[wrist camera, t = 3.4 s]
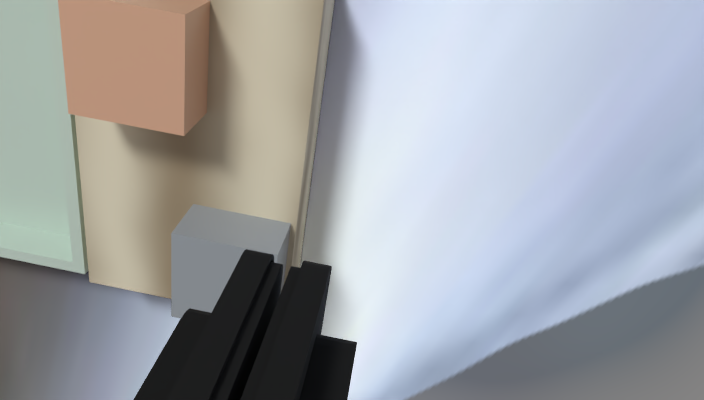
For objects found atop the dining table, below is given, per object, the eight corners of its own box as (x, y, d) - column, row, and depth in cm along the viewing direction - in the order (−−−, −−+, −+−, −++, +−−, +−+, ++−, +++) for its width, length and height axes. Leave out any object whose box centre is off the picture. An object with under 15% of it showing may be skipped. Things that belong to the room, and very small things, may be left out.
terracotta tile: (210, 0, 22) (185, 14, 20) (206, 112, 24) (184, 135, 22) (94, -21, 22) (56, -10, 20) (101, 92, 25) (68, 113, 22)
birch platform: (338, -26, 24) (325, -14, 21) (297, 285, 32) (284, 322, 29) (99, -69, 24) (59, -62, 22) (117, 249, 32) (89, 281, 30)
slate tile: (291, 223, 26) (277, 254, 24) (282, 301, 29) (269, 336, 26) (193, 204, 27) (171, 233, 24) (191, 283, 29) (171, 316, 27)
